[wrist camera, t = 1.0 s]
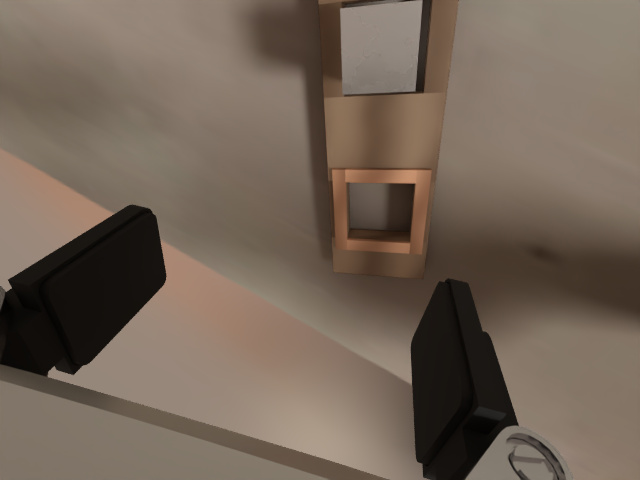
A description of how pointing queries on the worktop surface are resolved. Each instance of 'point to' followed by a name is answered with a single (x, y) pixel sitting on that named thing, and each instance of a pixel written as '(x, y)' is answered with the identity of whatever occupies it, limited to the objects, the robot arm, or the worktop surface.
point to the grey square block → (380, 47)
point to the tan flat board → (384, 146)
